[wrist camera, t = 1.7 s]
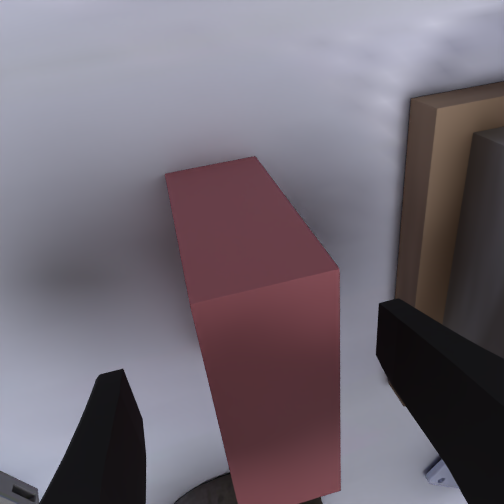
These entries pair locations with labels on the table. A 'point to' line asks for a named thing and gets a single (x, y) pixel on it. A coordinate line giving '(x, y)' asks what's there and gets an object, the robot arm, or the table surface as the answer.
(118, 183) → the table surface
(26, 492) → the remote control
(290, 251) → the book
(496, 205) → the book stand
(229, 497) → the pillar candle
